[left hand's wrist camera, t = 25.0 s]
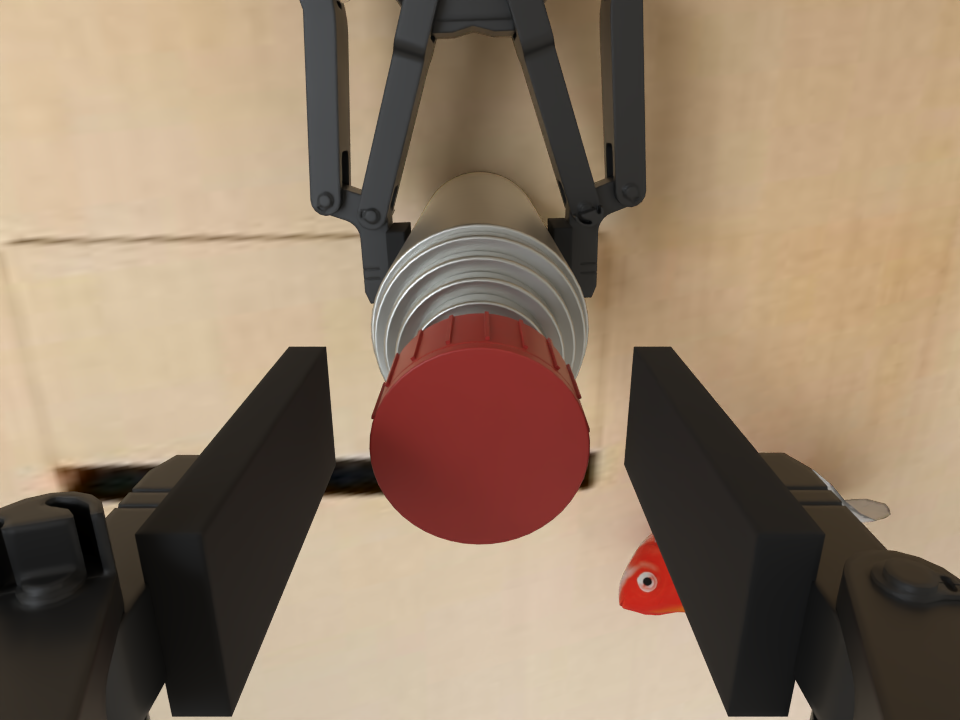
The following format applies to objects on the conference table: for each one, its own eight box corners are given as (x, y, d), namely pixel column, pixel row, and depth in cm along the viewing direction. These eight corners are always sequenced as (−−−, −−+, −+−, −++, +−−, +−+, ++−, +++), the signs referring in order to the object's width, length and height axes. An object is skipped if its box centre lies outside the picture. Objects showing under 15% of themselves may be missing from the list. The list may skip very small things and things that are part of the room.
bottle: (498, 147, 34) (533, 209, 12) (559, 249, 35) (692, 473, 13) (398, 214, 35) (255, 387, 13) (462, 309, 37) (436, 609, 14)
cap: (501, 269, 13) (505, 298, 11) (612, 422, 14) (635, 474, 12) (343, 382, 14) (320, 429, 12) (460, 518, 15) (458, 582, 13)
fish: (622, 431, 34) (752, 607, 27) (834, 392, 40) (982, 525, 34) (564, 556, 40) (657, 722, 34) (755, 505, 47) (864, 635, 40)
